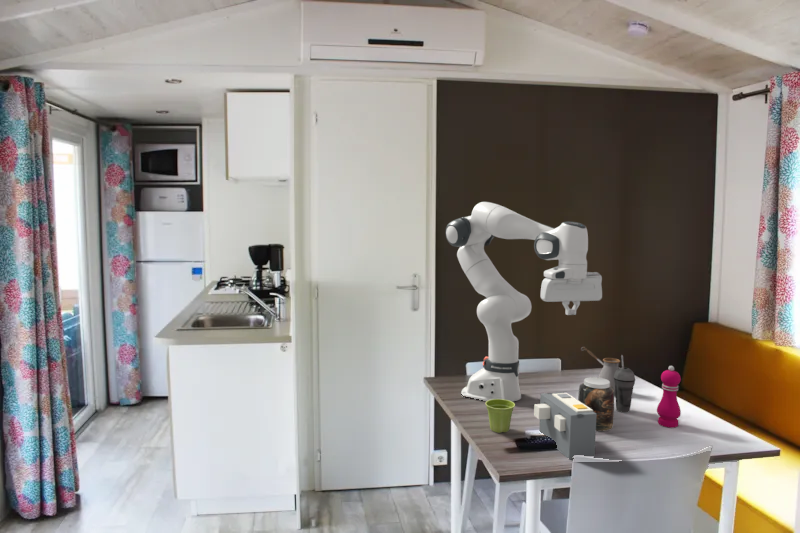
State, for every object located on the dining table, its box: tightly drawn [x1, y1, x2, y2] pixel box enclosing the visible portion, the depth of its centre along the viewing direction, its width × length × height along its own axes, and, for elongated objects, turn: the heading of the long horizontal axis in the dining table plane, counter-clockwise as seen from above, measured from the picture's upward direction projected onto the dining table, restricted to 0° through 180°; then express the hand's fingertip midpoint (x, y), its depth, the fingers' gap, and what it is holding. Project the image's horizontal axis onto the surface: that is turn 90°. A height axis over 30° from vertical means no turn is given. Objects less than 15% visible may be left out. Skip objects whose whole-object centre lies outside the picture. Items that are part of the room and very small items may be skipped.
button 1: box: [533, 403, 551, 421], centre depth 185 cm, size 5×4×4 cm
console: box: [538, 391, 597, 460], centre depth 182 cm, size 8×20×14 cm, turn 12°
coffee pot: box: [580, 346, 621, 392], centre depth 238 cm, size 21×12×15 cm, turn 28°
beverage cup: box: [614, 354, 636, 414], centre depth 212 cm, size 7×7×20 cm
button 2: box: [554, 415, 566, 431], centre depth 176 cm, size 5×4×4 cm
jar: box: [577, 376, 615, 432], centre depth 199 cm, size 12×12×15 cm
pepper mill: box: [656, 365, 682, 429], centre depth 199 cm, size 7×7×20 cm
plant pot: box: [485, 399, 516, 434], centre depth 194 cm, size 9×9×9 cm
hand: (570, 314), depth 195 cm, fingers closed
